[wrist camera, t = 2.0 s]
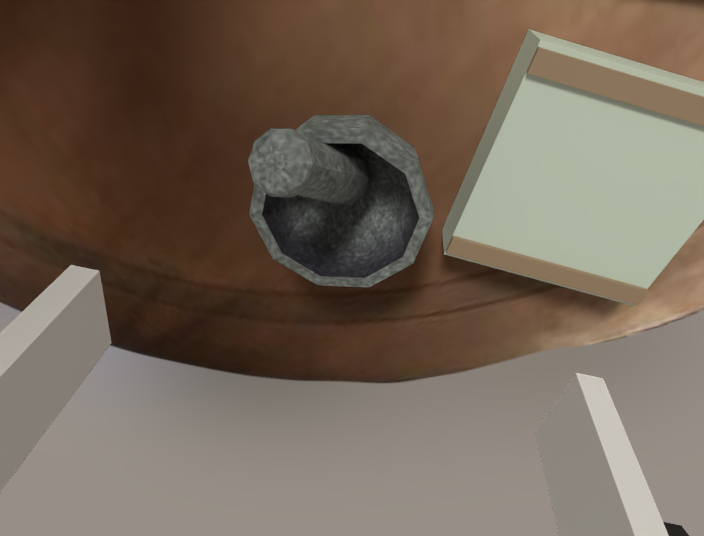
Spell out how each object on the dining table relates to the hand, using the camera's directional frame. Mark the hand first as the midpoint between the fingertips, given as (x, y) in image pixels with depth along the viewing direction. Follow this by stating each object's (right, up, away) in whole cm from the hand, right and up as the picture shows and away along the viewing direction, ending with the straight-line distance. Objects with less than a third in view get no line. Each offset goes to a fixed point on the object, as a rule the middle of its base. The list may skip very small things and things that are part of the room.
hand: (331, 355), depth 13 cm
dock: (+15, +8, +16) cm, 23 cm away
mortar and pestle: (0, +10, +17) cm, 20 cm away
